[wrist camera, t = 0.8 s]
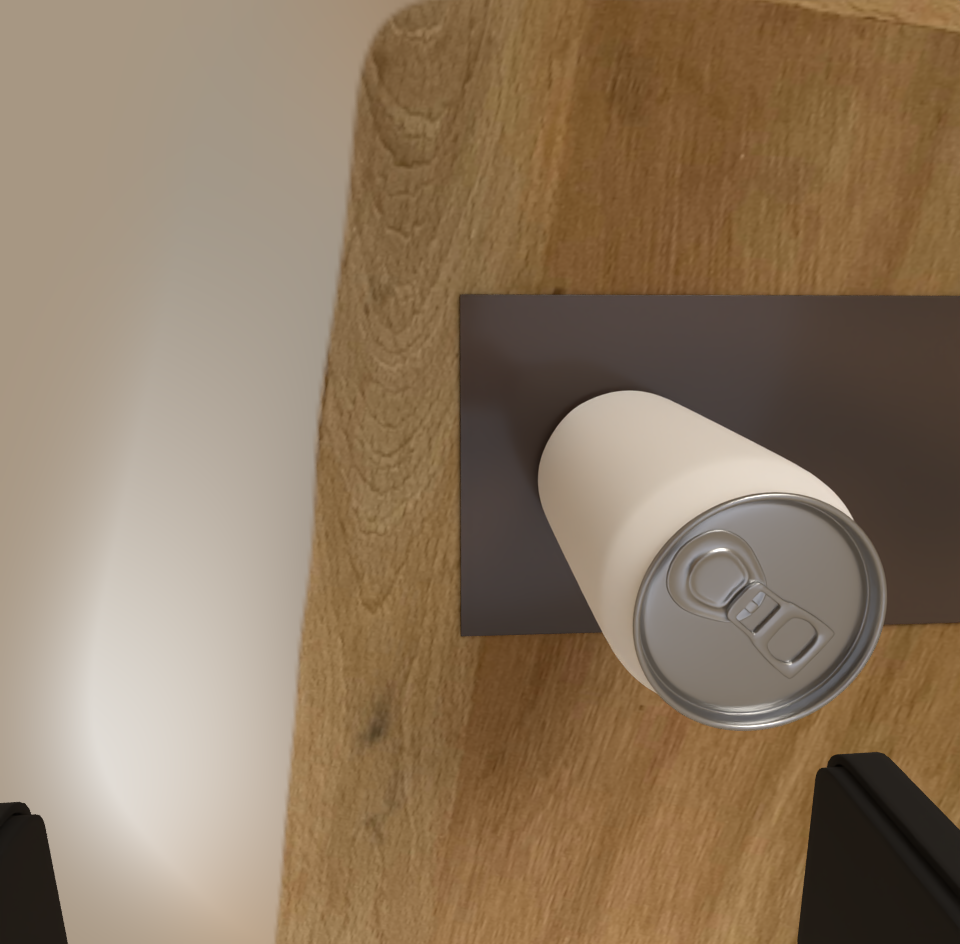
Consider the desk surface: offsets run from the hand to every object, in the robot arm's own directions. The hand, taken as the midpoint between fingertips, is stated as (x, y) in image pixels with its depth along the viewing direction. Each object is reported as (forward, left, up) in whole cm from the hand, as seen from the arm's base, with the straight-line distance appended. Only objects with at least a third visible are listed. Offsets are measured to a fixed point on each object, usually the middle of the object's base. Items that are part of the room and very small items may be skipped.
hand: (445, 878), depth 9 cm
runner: (0, +18, -19) cm, 26 cm away
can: (0, +7, -19) cm, 20 cm away
